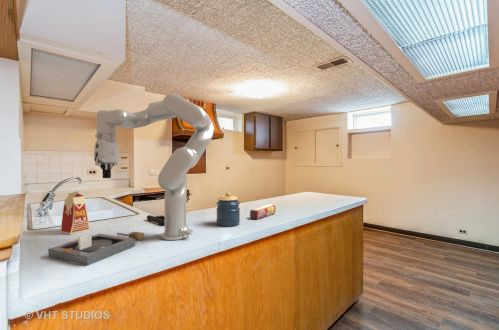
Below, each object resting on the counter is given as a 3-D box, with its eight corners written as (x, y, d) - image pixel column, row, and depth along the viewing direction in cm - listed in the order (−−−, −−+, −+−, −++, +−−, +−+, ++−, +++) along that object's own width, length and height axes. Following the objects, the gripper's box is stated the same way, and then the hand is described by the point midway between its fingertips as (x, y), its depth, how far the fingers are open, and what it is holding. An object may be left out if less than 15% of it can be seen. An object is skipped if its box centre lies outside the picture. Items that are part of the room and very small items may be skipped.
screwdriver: (144, 239, 110) (144, 232, 110) (139, 241, 108) (139, 234, 108) (120, 235, 115) (120, 229, 115) (115, 237, 113) (115, 231, 112)
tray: (134, 246, 101) (134, 237, 101) (87, 265, 82) (87, 255, 82) (99, 240, 108) (99, 232, 108) (48, 257, 89) (48, 247, 89)
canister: (225, 228, 128) (225, 194, 127) (211, 223, 138) (211, 191, 137) (244, 224, 136) (244, 192, 136) (230, 220, 146) (230, 190, 146)
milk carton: (90, 230, 124) (90, 190, 124) (70, 235, 116) (70, 192, 116) (79, 227, 128) (79, 189, 128) (59, 232, 120) (58, 191, 119)
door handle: (169, 212, 156) (144, 215, 144) (187, 218, 142) (161, 221, 130) (169, 218, 156) (144, 221, 144) (187, 223, 142) (160, 227, 130)
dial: (96, 241, 103) (96, 227, 102) (119, 244, 99) (119, 230, 99) (67, 251, 91) (67, 236, 91) (91, 255, 87) (91, 239, 87)
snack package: (257, 220, 145) (258, 209, 145) (248, 219, 149) (248, 208, 149) (276, 214, 163) (276, 204, 162) (267, 213, 167) (267, 203, 166)
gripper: (98, 136, 105) (98, 179, 105) (125, 139, 119) (126, 177, 120) (84, 136, 107) (85, 179, 108) (113, 139, 122) (113, 177, 122)
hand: (106, 178), depth 114 cm, fingers closed
